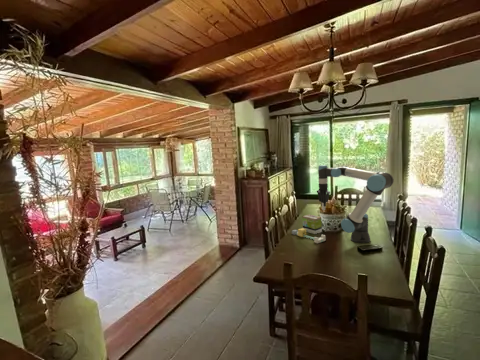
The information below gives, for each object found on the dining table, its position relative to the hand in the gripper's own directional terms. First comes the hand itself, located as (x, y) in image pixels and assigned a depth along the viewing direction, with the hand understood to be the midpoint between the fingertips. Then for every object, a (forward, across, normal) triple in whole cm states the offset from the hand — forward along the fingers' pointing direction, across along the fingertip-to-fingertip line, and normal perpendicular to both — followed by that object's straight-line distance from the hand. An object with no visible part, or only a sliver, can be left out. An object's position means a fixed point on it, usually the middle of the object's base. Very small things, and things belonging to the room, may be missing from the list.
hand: (323, 209), depth 248 cm
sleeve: (+24, +15, +12) cm, 31 cm away
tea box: (+25, +17, -4) cm, 30 cm away
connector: (+24, +24, +12) cm, 36 cm away
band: (+24, +19, +12) cm, 33 cm away
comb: (+24, -5, +12) cm, 28 cm away
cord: (+24, +9, +12) cm, 29 cm away
